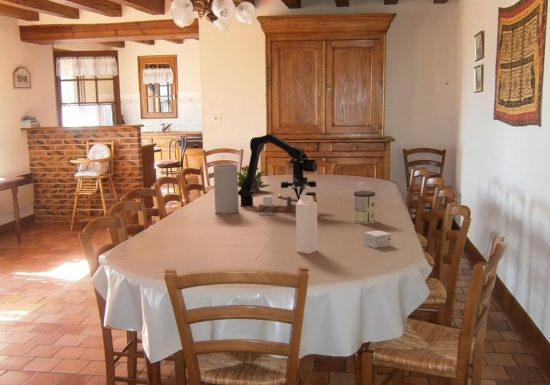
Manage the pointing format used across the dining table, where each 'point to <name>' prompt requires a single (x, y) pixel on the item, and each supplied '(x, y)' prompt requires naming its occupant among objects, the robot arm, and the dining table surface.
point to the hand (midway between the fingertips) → (298, 200)
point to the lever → (286, 198)
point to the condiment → (313, 196)
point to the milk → (306, 224)
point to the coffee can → (364, 207)
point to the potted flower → (257, 177)
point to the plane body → (278, 207)
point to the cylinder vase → (226, 189)
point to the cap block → (267, 200)
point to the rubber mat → (266, 213)
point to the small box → (377, 239)
